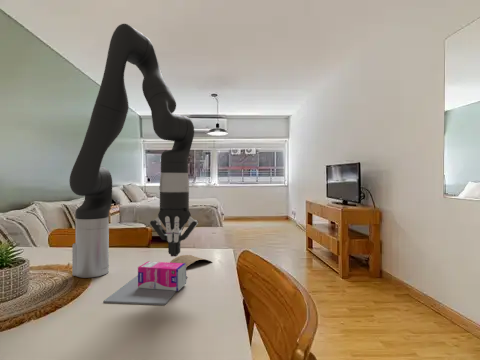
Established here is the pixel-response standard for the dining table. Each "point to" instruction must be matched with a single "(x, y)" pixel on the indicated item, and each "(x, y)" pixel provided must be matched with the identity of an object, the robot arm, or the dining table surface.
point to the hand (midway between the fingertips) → (174, 255)
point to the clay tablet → (186, 259)
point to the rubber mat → (139, 295)
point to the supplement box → (162, 275)
